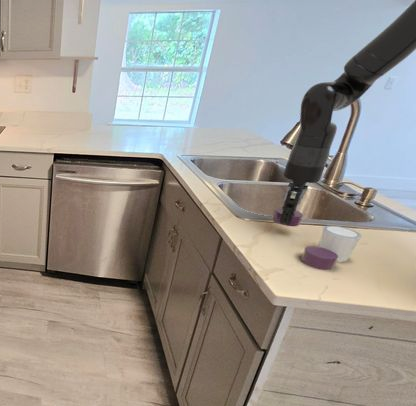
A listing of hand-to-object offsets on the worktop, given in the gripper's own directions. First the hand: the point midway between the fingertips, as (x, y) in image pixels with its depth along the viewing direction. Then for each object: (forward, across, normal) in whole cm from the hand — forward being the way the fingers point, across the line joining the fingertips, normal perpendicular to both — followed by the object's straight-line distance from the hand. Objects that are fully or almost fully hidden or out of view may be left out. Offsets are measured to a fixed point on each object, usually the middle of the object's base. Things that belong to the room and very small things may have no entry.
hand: (286, 219), depth 102 cm
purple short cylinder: (+4, -13, -9) cm, 17 cm away
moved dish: (+1, 0, 0) cm, 1 cm away
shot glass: (+4, -7, -11) cm, 14 cm away
